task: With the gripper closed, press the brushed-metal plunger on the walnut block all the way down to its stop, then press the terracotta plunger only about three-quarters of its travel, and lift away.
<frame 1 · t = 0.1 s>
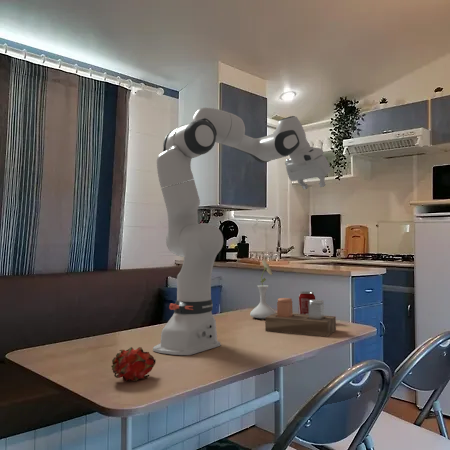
hand: (314, 187, 178), 54 cm above the table, tool tilted 30°, fingers open, 8 cm apart
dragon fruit: (134, 379, 109), on the table
flower in vase: (263, 318, 192), on the table
metal plunger: (316, 310, 161), point 8 cm above the table, slide at 0.0 cm
terracotta plunger: (284, 308, 167), point 8 cm above the table, slide at 0.0 cm
soda can: (307, 322, 181), on the table
walnut block: (300, 330, 164), on the table
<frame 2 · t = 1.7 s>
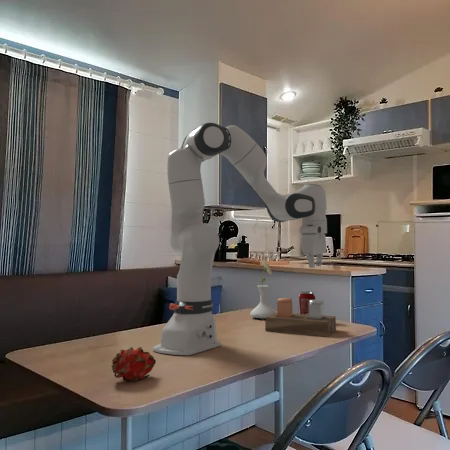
hand: (315, 266, 162), 23 cm above the table, tool pointing down, fingers open, 8 cm apart
nothing on the table moved.
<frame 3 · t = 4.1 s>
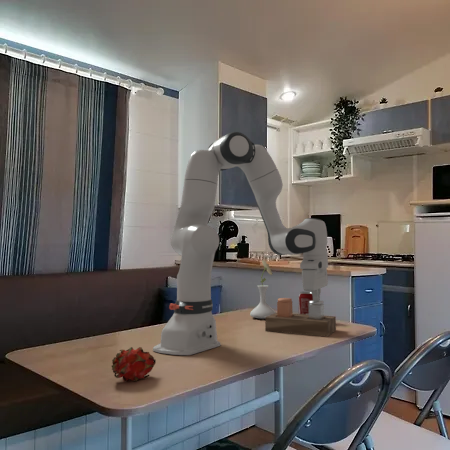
hand: (316, 301, 161), 11 cm above the table, tool pointing down, fingers closed, pressing on metal plunger
metal plunger: (316, 310, 161), point 8 cm above the table, slide at 0.3 cm, touching gripper
everything else where it was.
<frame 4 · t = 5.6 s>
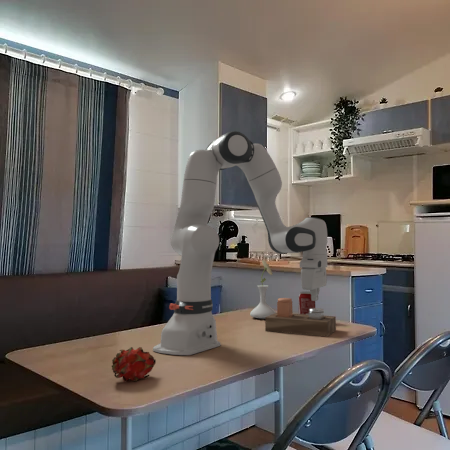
hand: (314, 300, 161), 11 cm above the table, tool pointing down, fingers closed
metal plunger: (316, 318, 161), point 5 cm above the table, slide at 3.1 cm
everything else where it was.
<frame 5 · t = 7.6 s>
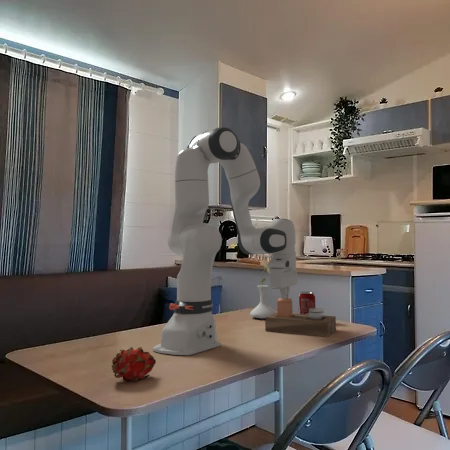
hand: (284, 298, 167), 11 cm above the table, tool pointing down, fingers closed, pressing on terracotta plunger
terracotta plunger: (284, 308, 167), point 8 cm above the table, slide at 0.0 cm, touching gripper
everything else where it was.
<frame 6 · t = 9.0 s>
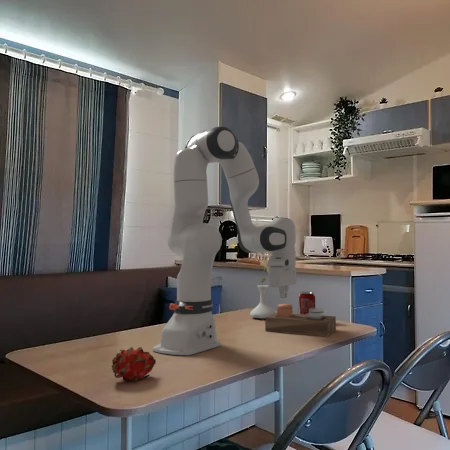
hand: (283, 297, 167), 12 cm above the table, tool pointing down, fingers closed
terracotta plunger: (284, 314, 167), point 6 cm above the table, slide at 2.2 cm
everything else where it was.
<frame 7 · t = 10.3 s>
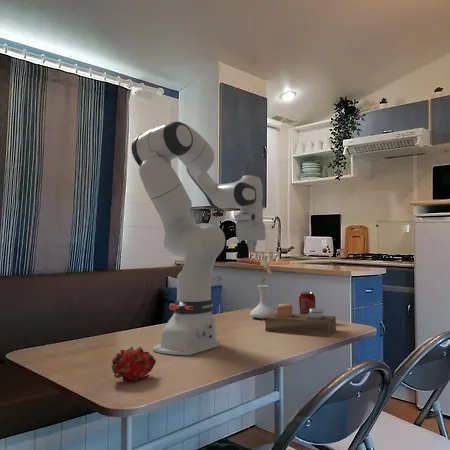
hand: (251, 252, 175), 29 cm above the table, tool pointing down, fingers closed
nothing on the table moved.
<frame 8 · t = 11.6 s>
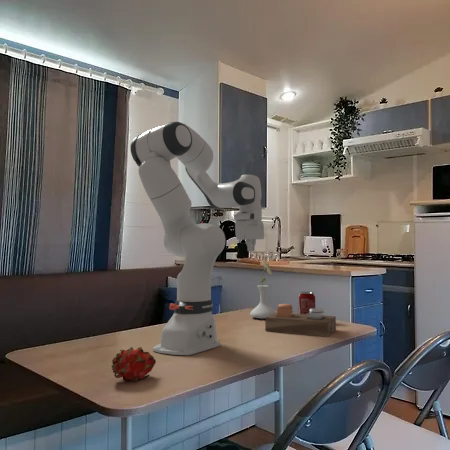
hand: (251, 251, 175), 29 cm above the table, tool pointing down, fingers closed
nothing on the table moved.
at the end: metal plunger slide at 3.1 cm; terracotta plunger slide at 2.2 cm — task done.
